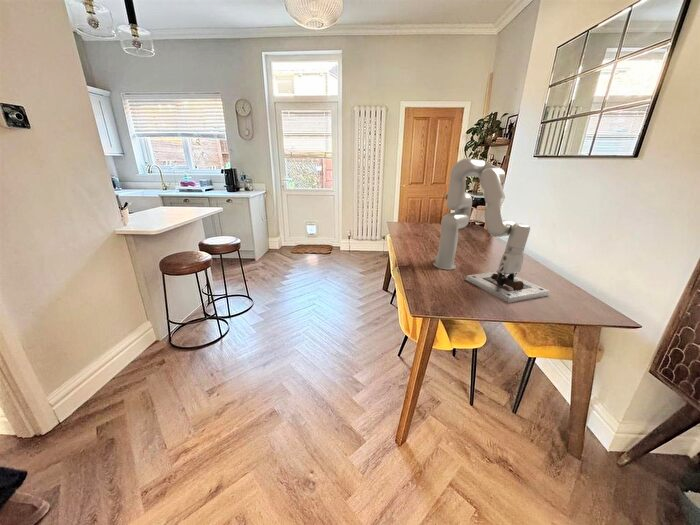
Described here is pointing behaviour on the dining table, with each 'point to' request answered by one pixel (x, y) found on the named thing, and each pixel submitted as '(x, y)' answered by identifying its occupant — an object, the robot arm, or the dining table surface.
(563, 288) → the dining table surface
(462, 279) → the dining table surface
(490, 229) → the robot arm
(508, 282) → the bolt
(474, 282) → the plate
